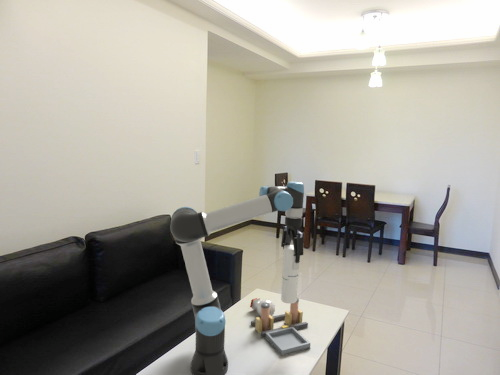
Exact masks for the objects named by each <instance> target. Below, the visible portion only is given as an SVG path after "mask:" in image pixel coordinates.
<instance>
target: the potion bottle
mask: <svg viewBox="0 0 500 375" xmlns="http://www.w3.org/2000/svg"><path fill="white" fill-rule="evenodd" d="M262 303H269V304H270V307H269V315H271V316H272V317H273V315H274V314H275V311H276V305H275V304H274V303H273V301H272V300H270V299H267V298H266V299H261V298H258V297H256V298H253V299H251V301H250V305H249V307H250V308H251V309H253V310H254V311H256V312H257V313H258V314H259V317H261V304H262Z"/></svg>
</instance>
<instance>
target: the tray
mask: <svg viewBox="0 0 500 375" xmlns="http://www.w3.org/2000/svg"><path fill="white" fill-rule="evenodd" d="M265 339H266V340H267V341H268V342H269V344H271V346H272V347H273V349H275V351H277V352H278V354H279V355H280V356H281V357H283V356H286V355H291V354H294V353H297V352H301V351H305V350H308V349H311V342H310V341H309V340H308V339H307V338H306V337H305V336H304V335H302V334H301V333H300V332H299V331H298V329H297V330H296V329H295V328H294V327H289V328H285V329H281V330H276V331H272V332H268V333H266V337H265Z"/></svg>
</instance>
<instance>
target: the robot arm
mask: <svg viewBox="0 0 500 375" xmlns="http://www.w3.org/2000/svg"><path fill="white" fill-rule="evenodd" d="M258 193H259V195H258V196H257V197H254V198H251V199H247V200H244V201H241V202H238V203H235V204H231V205H228V206H224V207H221V208H219V209H214V210H212V211H209V212H203V211H200V212H197V211H196V210H195V209H194V208H192V207H189V206H183V207H179V208H177V209H176V210H175V211H173V213H172V215H171V218H170V227H169V229H170V232H171V235H172V236H173V238H174V240H175V244H177V245H179V246H180V250H181V252H182V256H183V261H184V263H185V269H186V273H187V276H188V282H189V284H190V288H191V293H192V297H191V300H190V302H191V306H192V311H193V314H194V315H193V316H194V325H195V327H194V329H195V350H194V353H193V356H192V359H191V361H190V371H191V373H192V375H225V374H226V373H227V372H228V369H229V359H228V356H227V354H226V351H225V338H226V336H225V335H226V334H225V333H226V332H225V331H226V327H225V326H226V315H225V313H224V311H223V310H222V308H221V303H220V301H219V296H218V293H217V292H216V291H214V290H213V287H212V282H211V280H210V279H211V278H210V274H209V270H208V266H207V261H206V258H205V254H204V250H203V246H202V241H201V240H202V239H203V238H205V237H209V236H210V235H211V233H212V232H215V231H220V230H221V229H225V228H228V227H230V226H234V225H237V224H240V223H243V222H246V221H250V220H253V219H255V218H256V219H257V218H259V217H263V216H266V215H268V214H272V213H275V212H280V211H281V212H285V214H284V215H285V218H284V225H285V226H282V235H281V242H280V244H281V245H280V246H281V248H283V249H282V250H284V246H285V245H291V243H292V245H293V246H294V253H295V255H293V270H297V269H299V268H300V262H301V261H300V257H301V256H304V236H305V233H304V232H301V230H300V228H301V227H302V226H303V210H304V198H305V196H304V195H305V185H304V183H303V182H301V181H287V184H286V185H285V186H275V185H262V186H261V187H260V189H259V192H258Z"/></svg>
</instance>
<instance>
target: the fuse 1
mask: <svg viewBox="0 0 500 375" xmlns="http://www.w3.org/2000/svg"><path fill="white" fill-rule="evenodd" d="M269 307H270V304H269V303H262V304H261V316H260V319H261V320H262V332H264V331H268V330H269V328H268V327H269Z"/></svg>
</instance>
